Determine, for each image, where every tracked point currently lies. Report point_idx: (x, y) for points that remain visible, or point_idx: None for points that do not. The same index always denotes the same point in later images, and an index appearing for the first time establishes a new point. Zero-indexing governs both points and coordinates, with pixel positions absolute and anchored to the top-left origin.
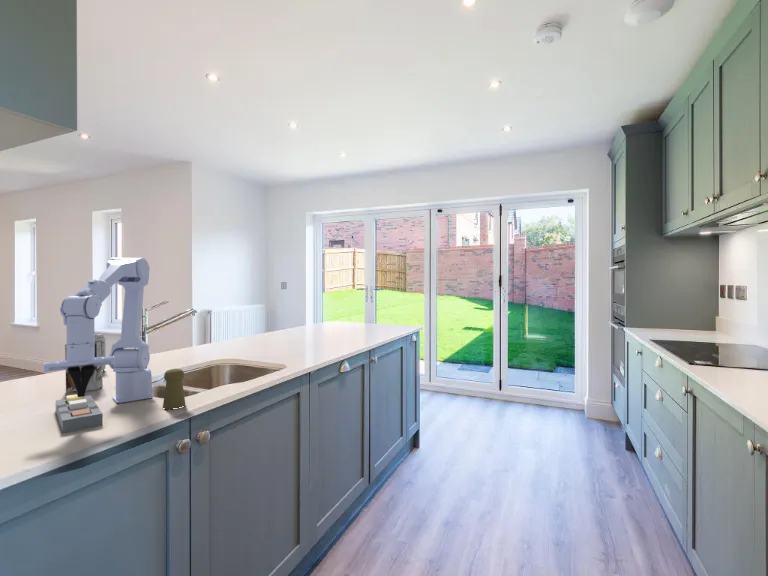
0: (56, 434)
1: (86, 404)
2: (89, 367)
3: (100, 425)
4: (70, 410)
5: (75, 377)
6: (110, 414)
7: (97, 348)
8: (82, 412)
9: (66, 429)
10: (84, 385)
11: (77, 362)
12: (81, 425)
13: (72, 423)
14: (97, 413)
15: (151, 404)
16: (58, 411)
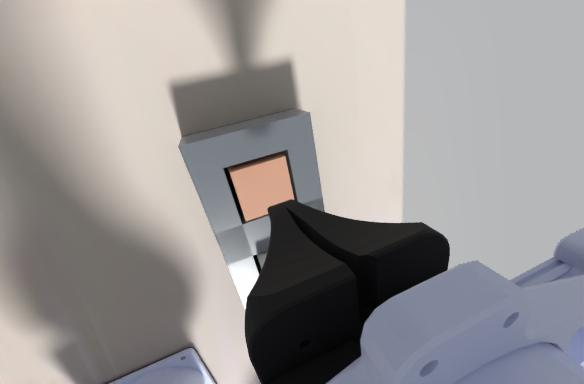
0: (307, 104)
1: (261, 262)
2: (305, 368)
3: (188, 135)
4: None
5: (367, 230)
6: (186, 253)
7: None
8: (259, 181)
9: (287, 112)
10: (285, 226)
11: (525, 328)
12: (247, 122)
13: (276, 117)
14: (201, 156)
15: (54, 333)
16: None
